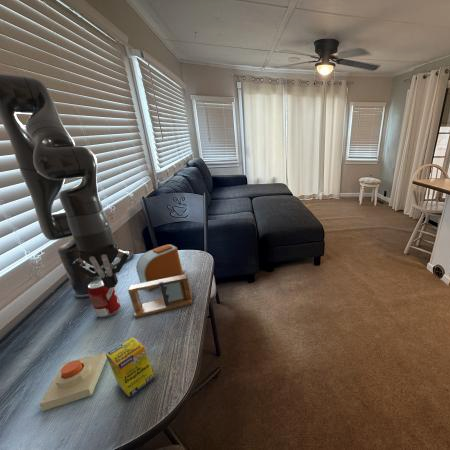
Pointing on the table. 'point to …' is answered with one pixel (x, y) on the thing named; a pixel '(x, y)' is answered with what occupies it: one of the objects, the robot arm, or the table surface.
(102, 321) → the table surface
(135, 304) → the window frame
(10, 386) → the table surface
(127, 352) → the supplement box
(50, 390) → the control plate
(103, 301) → the soda can
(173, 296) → the window pane
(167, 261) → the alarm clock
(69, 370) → the button
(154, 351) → the table surface
